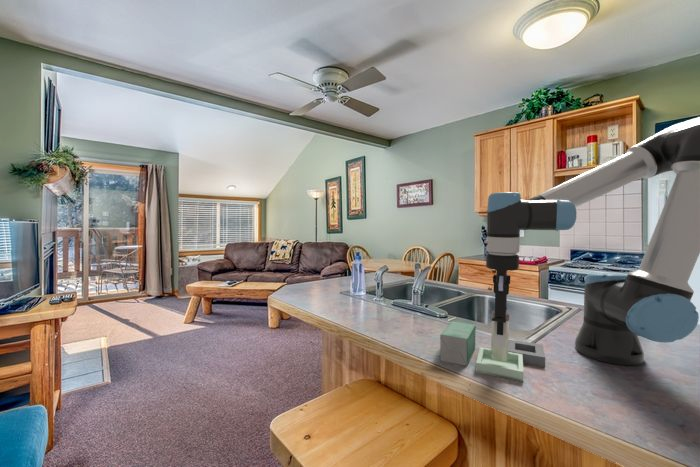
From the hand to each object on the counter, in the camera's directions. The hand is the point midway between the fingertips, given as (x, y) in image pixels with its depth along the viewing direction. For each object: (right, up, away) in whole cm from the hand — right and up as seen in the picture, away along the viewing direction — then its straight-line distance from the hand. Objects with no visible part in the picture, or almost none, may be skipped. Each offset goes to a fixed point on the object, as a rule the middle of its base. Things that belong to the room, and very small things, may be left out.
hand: (500, 342), depth 82 cm
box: (-8, -7, +9) cm, 14 cm away
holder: (+10, -6, +7) cm, 14 cm away
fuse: (0, -4, 0) cm, 4 cm away
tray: (0, -7, 0) cm, 7 cm away
